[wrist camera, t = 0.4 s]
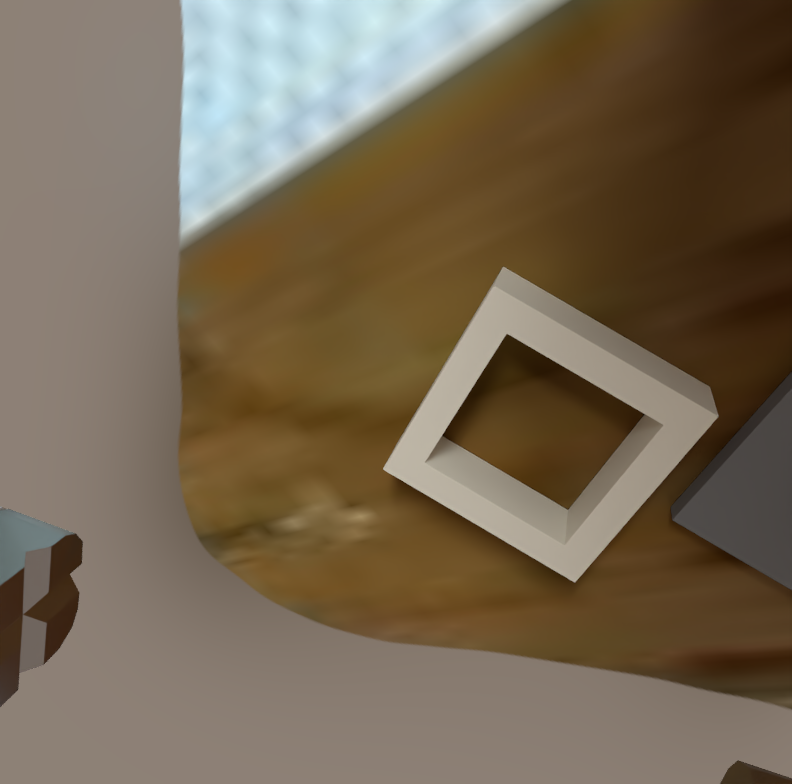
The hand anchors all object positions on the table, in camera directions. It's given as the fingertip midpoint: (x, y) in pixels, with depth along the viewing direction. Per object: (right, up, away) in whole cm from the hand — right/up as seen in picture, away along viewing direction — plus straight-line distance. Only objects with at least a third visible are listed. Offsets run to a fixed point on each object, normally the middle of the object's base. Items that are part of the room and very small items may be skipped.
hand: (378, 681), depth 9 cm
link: (+10, +2, +38) cm, 39 cm away
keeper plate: (+27, -2, +35) cm, 44 cm away
